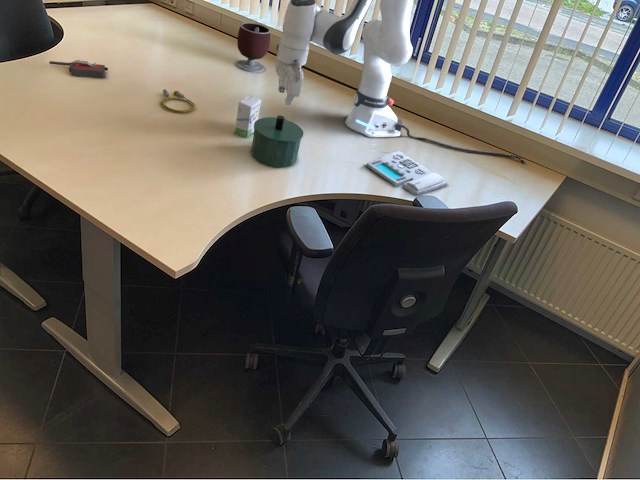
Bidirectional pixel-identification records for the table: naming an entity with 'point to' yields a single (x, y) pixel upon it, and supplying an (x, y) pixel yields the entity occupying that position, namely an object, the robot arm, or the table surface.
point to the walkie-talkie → (84, 68)
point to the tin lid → (278, 129)
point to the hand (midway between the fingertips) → (284, 98)
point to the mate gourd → (252, 45)
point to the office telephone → (407, 173)
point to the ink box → (247, 115)
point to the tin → (274, 151)
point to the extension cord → (176, 99)
